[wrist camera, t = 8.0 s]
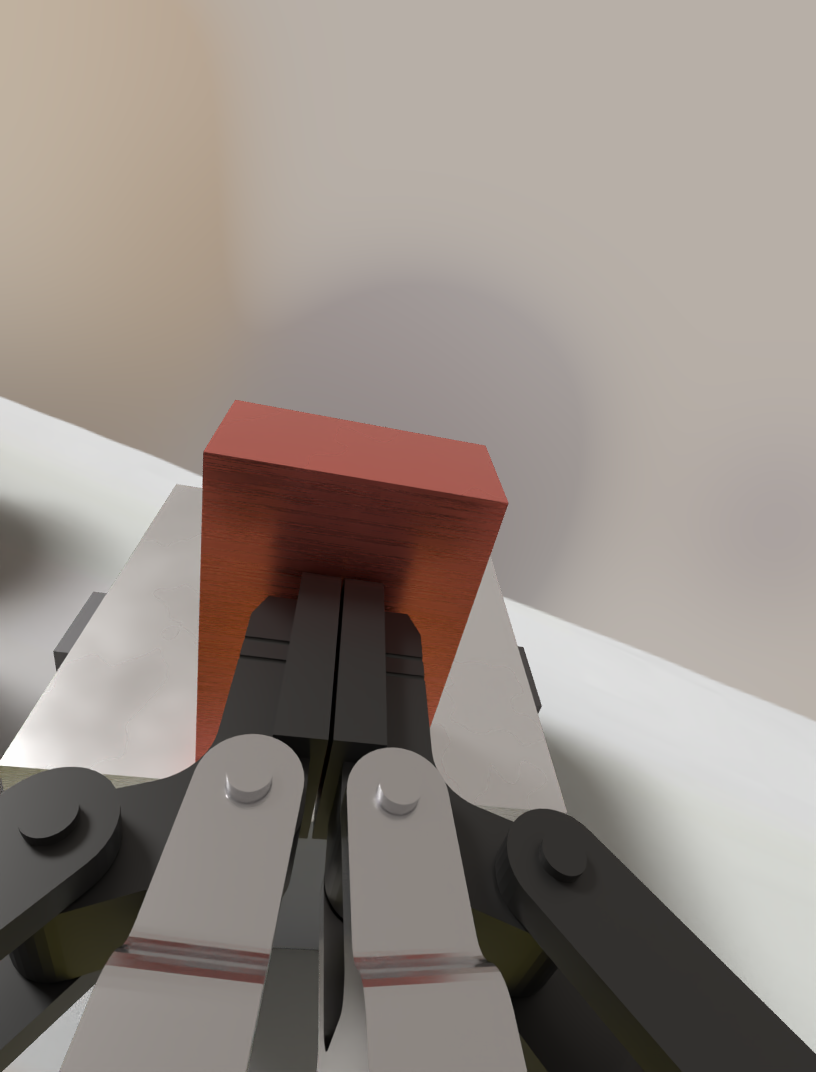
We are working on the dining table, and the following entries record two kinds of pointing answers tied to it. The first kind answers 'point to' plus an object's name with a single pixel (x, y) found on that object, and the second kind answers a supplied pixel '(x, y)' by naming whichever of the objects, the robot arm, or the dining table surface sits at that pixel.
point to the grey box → (309, 863)
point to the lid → (276, 570)
